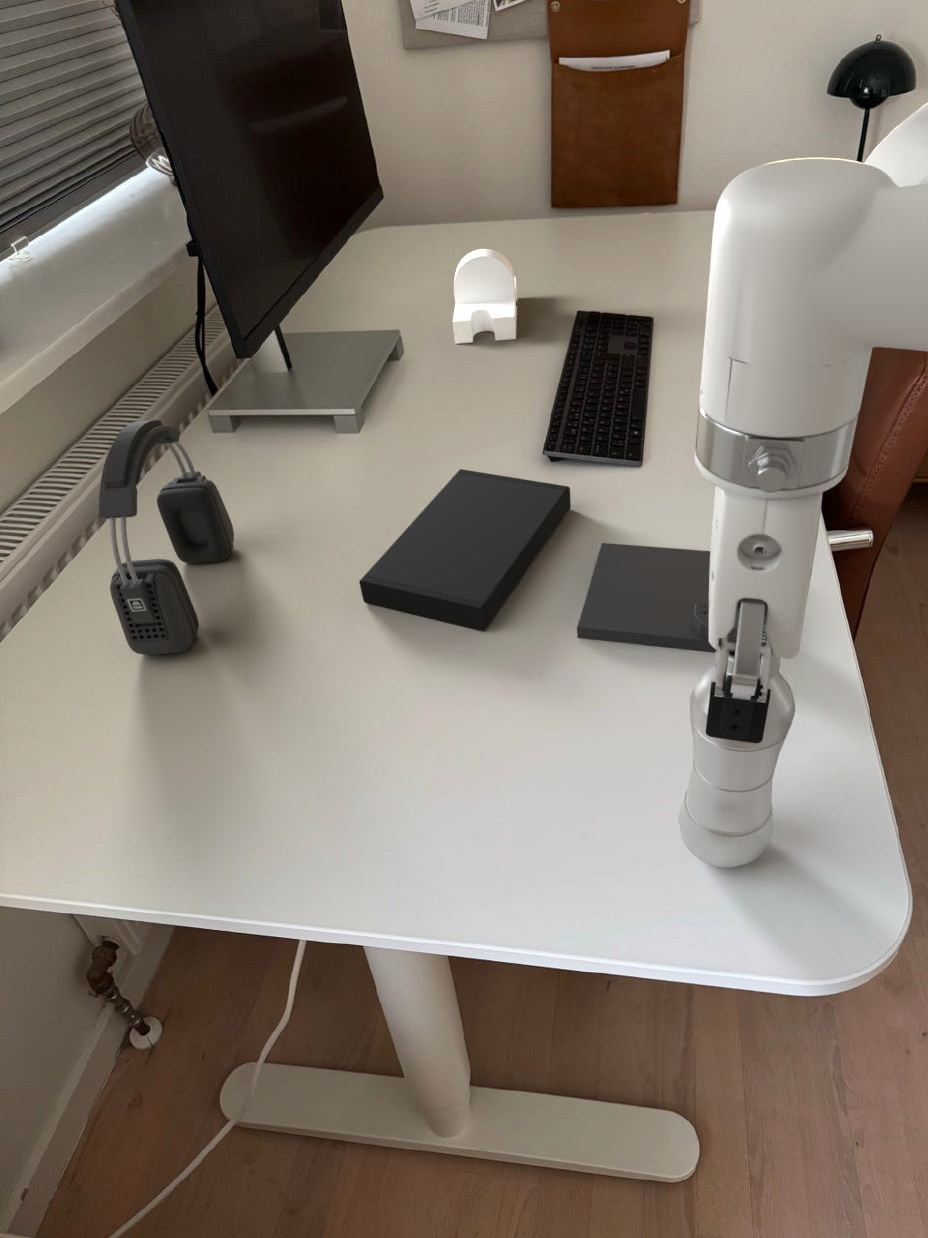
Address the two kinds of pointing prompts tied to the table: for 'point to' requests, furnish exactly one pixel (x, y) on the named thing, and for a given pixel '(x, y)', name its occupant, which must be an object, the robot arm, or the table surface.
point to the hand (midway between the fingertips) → (738, 680)
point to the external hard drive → (467, 549)
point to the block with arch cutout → (484, 296)
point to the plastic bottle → (733, 776)
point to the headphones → (194, 524)
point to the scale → (648, 597)
